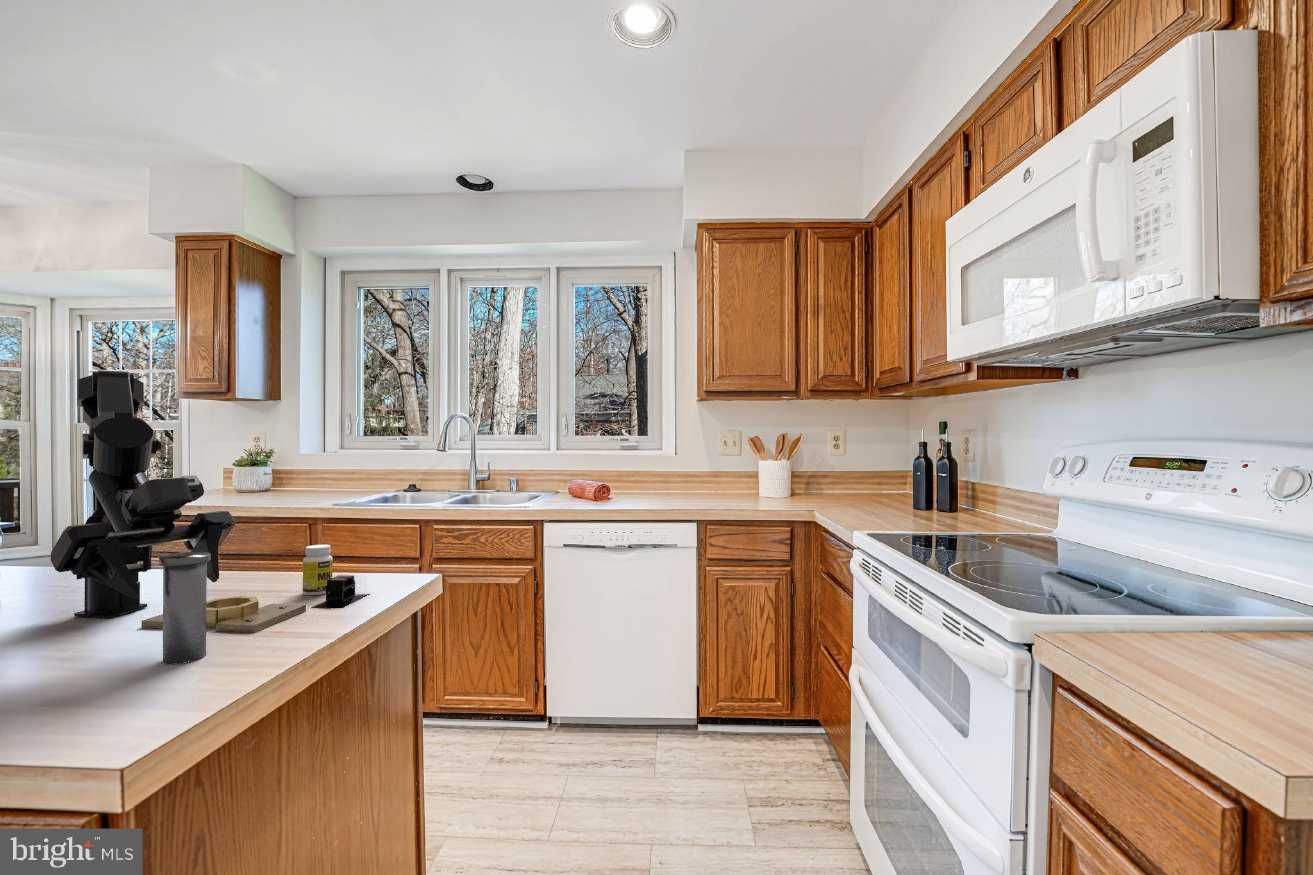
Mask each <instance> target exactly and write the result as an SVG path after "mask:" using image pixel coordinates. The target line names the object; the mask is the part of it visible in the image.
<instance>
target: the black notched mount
mask: <svg viewBox="0 0 1313 875" xmlns="http://www.w3.org/2000/svg"><path fill="white" fill-rule="evenodd" d="M328 592H329V593H328ZM367 595H368V596H370V595H371V593H356V580H355V575H349V574H345V575H342V574H338V575H336V576H334V577H333V576H332V578H331V579H328V580H327V586H326V594H325V600H324V601H321V602H320V603H317V604H315V605H313V606H311V607H310V609H329V610H330V609H331V608H334V609H335V608H342V609H344V608H346V607H348V606H350V605H352V604H354V603H356V602H358V601H360V600H362V599H364V598H366V597H368V596H367ZM363 597H364V598H363ZM349 604H350V605H349ZM345 606H346V607H345ZM334 609H333V610H334Z"/></svg>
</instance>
